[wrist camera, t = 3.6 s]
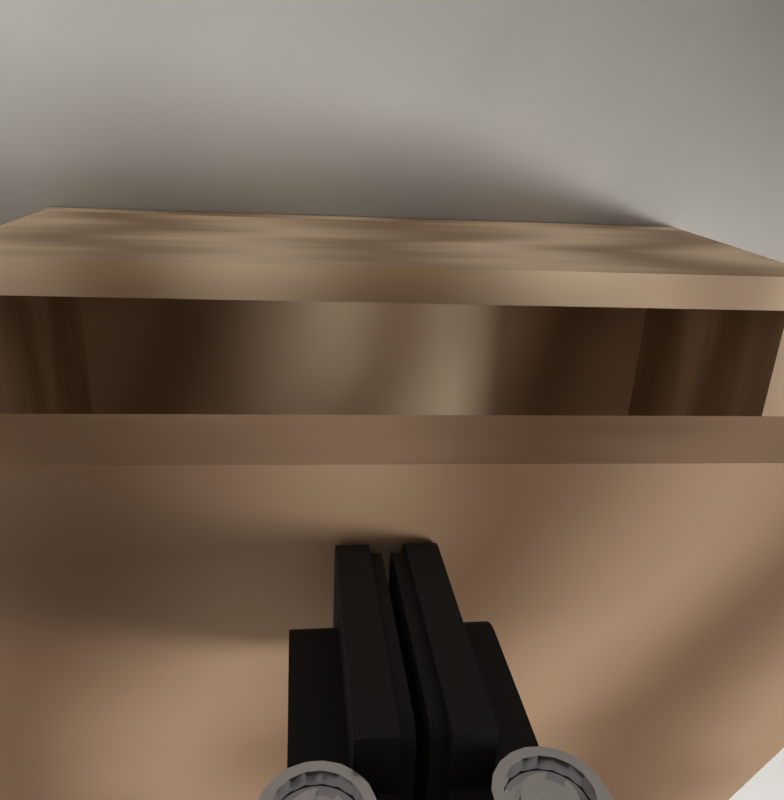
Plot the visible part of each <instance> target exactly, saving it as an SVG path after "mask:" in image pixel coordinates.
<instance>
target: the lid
mask: <svg viewBox="0 0 784 800" xmlns="http://www.w3.org/2000/svg"><path fill="white" fill-rule="evenodd" d="M406 543H437V545H438V547H439V550H440V553H441V556H442V559H443V562H444V565H445V568H446V571H447V574H448V577H449V580H450V583H451V586H452V589H453V592H454V595H455V598H456V601H457V604H458V608H459V611H460V614H461V617H462V620H463V622H480V621H488V622H489V623H491V625H492V627H493V629H494V631H495V633H496V636H497V638H498V641H499V644H500V646H501V649H502V651H503V654H504V657H505V659H506V662H507V664H508V667H509V670H510V672H511V675H512V677H513V680H514V683H515V685H516V688H517V690H518V693H519V695H520V698H521V701H522V703H523V706H524V708H525V711H526V714H527V716H528V719H529V721H530V724H531V727H532V729H533V732H534V734H535V737H536V740H537V742H538V745H539V746H543V747H549V748H554V749H559V750H561V751H564V752H566V753H568V754H571V755H573V756H575V757H577V758H578V759H580V760H581V761H582V762H584V763H585V764H586V765H588V766H589V767H590V768H592V770H593V771H594V772H595V773H596V774H597V776H598V777H599V778H600V779H601V780H602V782H603V783H604V785H605V786H606V788H607V789H608V791H609V792H610V794H611V796H612V797H613V799H614V800H728V799H729V798H731V797H732V796H733V795H734V794H735V793H736V792H737V791H738V790H739V789H740V788H741V787H742V786H743V785H744V784H745V783H746V782H747V781H749V780H750V779H751V778H752V777H753V776H754V775H755V774H756V773H757V772H758V771H759V770H760V769H761V768H762V767H763V766H764V765H765V764H767V763H768V762H769V761H770V760H771V759H772V758H773V757H774V756H775V755H776V754H777V753H778V752H779V751H780V750H781V749H782V748H783V747H784V416H548V415H261V414H0V800H259V797H260V795H261V793H262V791H263V790H264V788H265V787H266V786H267V785H268V784H269V783H270V781H271V780H272V779H273V778H274V777H275V776H277V775H278V774H280V773H281V772H283V771H284V770H286V769H287V745H288V672H289V630H292V629H315V628H333V608H334V559H335V545H369V549H370V553H381V554H382V557H383V562H384V567H385V572H386V577H387V582H388V584H389V565H390V555H391V553H401V552H402V546H403V544H406Z"/></svg>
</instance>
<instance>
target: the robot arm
mask: <svg viewBox="0 0 784 800" xmlns="http://www.w3.org/2000/svg"><path fill="white" fill-rule="evenodd" d="M259 800H614V799H613V797H612V796H611V794H610V792H609V791H608V789H607V788H606V786H605V785H604V783H603V782H602V780H601V779H600V778H599V777H598V776H597V774H596V773H595V772H594V771H593V770H592V768H590V767H589V766H588V765H586V764H585V763H584V762H582V761H581V760H580V759H578V758H577V757H575V756H573V755H571V754H568V753H566V752H564V751H561V750H559V749H554V748H549V747H543V746H539V745H538V742H537V740H536V737H535V734H534V732H533V729H532V727H531V724H530V721H529V719H528V716H527V714H526V711H525V708H524V706H523V703H522V701H521V698H520V695H519V693H518V690H517V688H516V685H515V683H514V680H513V677H512V675H511V672H510V670H509V667H508V664H507V662H506V659H505V657H504V654H503V651H502V649H501V646H500V644H499V641H498V638H497V636H496V633H495V631H494V629H493V627H492V625H491V623H489V622H488V621H480V622H463V620H462V617H461V614H460V611H459V608H458V604H457V601H456V598H455V595H454V592H453V589H452V586H451V583H450V580H449V577H448V574H447V571H446V568H445V565H444V562H443V559H442V556H441V553H440V550H439V547H438V545H437V543H406V544H403V546H402V552H401V553H391V555H390V565H389V584H388V582H387V577H386V572H385V567H384V562H383V557H382V554H381V553H370V549H369V545H335V559H334V608H333V628H315V629H292V630H289V672H288V745H287V769H286V770H284V771H283V772H281V773H280V774H278V775H277V776H275V777H274V778H273V779H272V780H271V781H270V783H269V784H268V785H267V786H266V787H265V788H264V790H263V791H262V793H261V795H260V797H259Z"/></svg>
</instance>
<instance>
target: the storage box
mask: <svg viewBox="0 0 784 800" xmlns="http://www.w3.org/2000/svg"><path fill="white" fill-rule="evenodd" d="M0 414H261V415H548V416H784V263H781V262H778V261H775V260H772V259H769V258H766V257H763V256H760V255H757V254H754V253H751V252H748V251H745V250H742V249H739V248H736V247H733V246H730V245H726V244H723V243H720V242H717V241H714V240H711V239H708V238H705V237H702V236H699V235H696V234H693V233H690V232H687V231H684V230H681V229H678V228H675V227H658V226H627V225H595V224H564V223H533V222H501V221H470V220H439V219H408V218H376V217H345V216H314V215H283V214H251V213H220V212H189V211H158V210H126V209H95V208H64V207H49V208H46V209H43V210H41V211H38V212H35V213H32V214H30V215H27V216H24V217H21V218H19V219H16V220H13V221H10V222H8V223H5V224H2V225H0Z"/></svg>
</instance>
